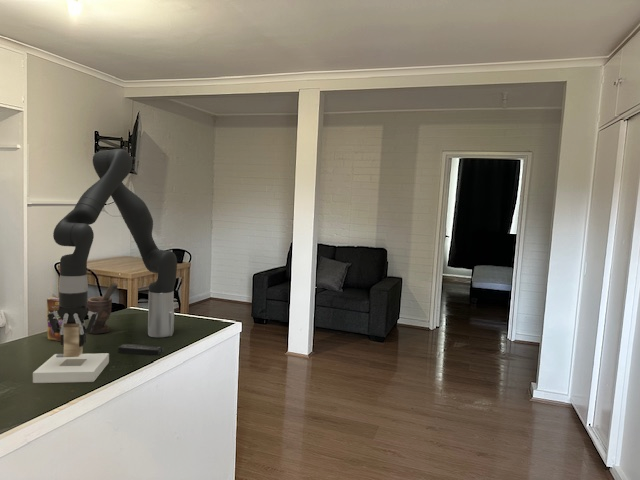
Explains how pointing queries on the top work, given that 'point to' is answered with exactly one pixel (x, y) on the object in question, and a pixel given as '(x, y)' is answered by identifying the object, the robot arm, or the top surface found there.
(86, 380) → the socket plate
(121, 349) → the multiport hub
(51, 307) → the candy box
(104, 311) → the mortar and pestle
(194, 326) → the top surface
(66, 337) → the square peg
